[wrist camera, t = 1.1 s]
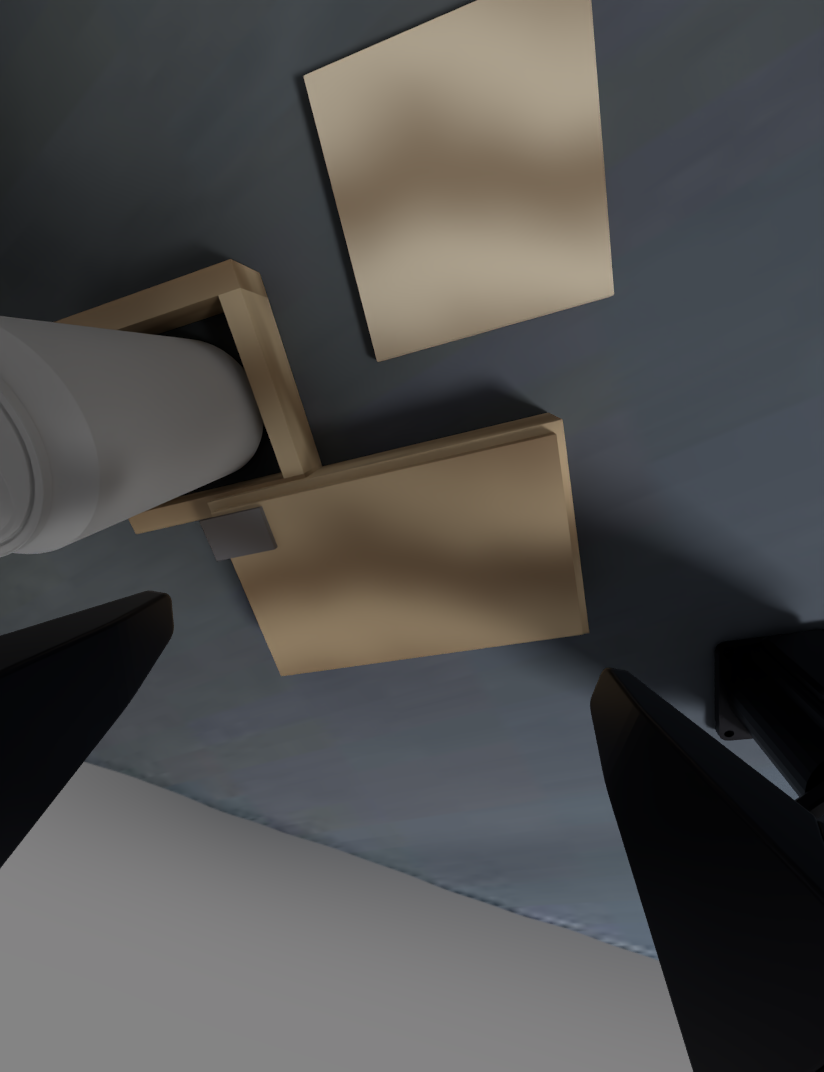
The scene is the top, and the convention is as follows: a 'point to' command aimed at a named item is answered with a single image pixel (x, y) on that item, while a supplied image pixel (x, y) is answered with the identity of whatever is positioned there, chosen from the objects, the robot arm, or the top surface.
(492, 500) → the wooden notched board
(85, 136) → the top surface
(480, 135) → the cork mat
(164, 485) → the beverage can
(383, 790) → the top surface
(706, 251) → the top surface
